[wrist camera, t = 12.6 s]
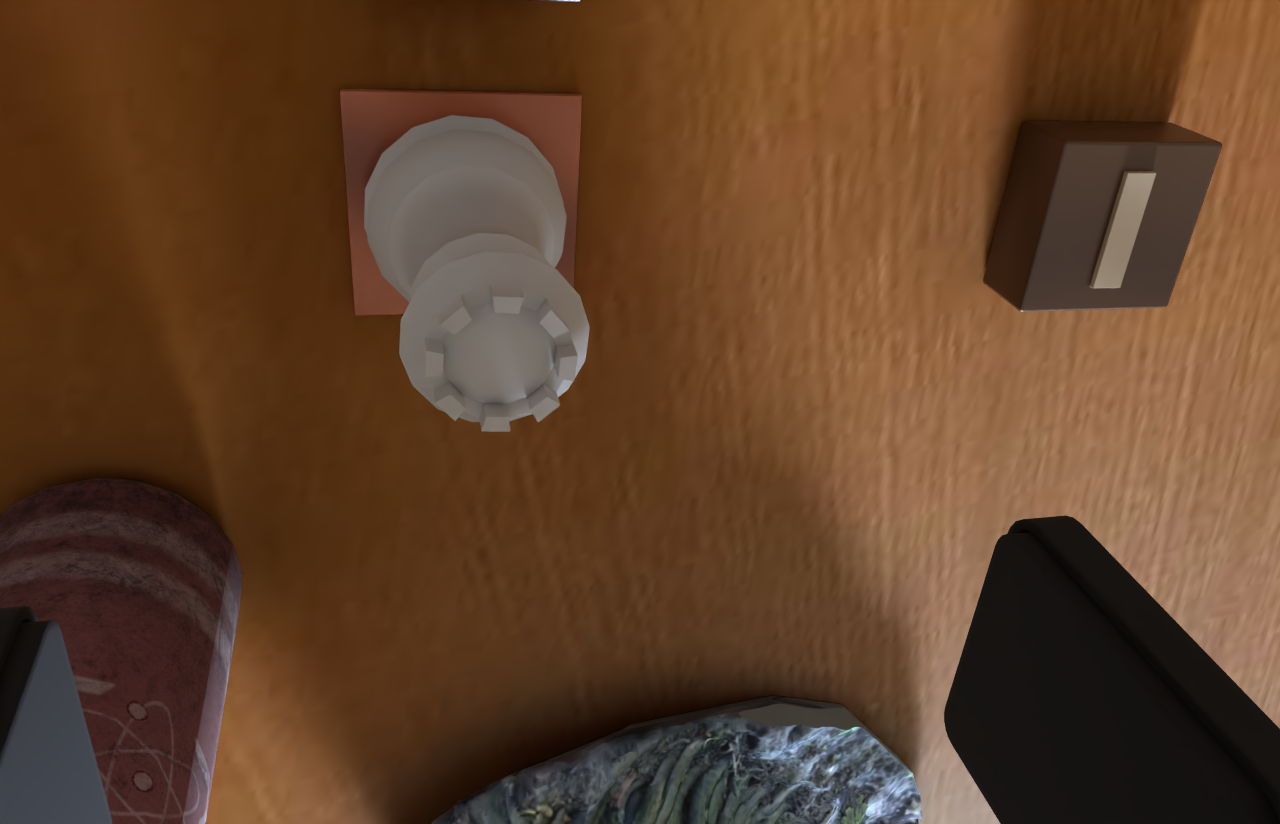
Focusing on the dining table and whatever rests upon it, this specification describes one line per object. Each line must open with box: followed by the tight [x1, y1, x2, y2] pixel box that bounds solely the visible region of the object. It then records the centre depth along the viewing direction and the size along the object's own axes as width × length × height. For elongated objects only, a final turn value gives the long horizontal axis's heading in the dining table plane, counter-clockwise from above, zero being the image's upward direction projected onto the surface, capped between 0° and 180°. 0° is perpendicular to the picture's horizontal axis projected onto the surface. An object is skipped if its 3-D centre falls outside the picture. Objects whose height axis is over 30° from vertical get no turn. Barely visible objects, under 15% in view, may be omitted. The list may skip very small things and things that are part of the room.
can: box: [0, 478, 243, 824], centre depth 21 cm, size 6×6×14 cm
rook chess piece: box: [364, 115, 590, 432], centre depth 21 cm, size 4×4×8 cm
